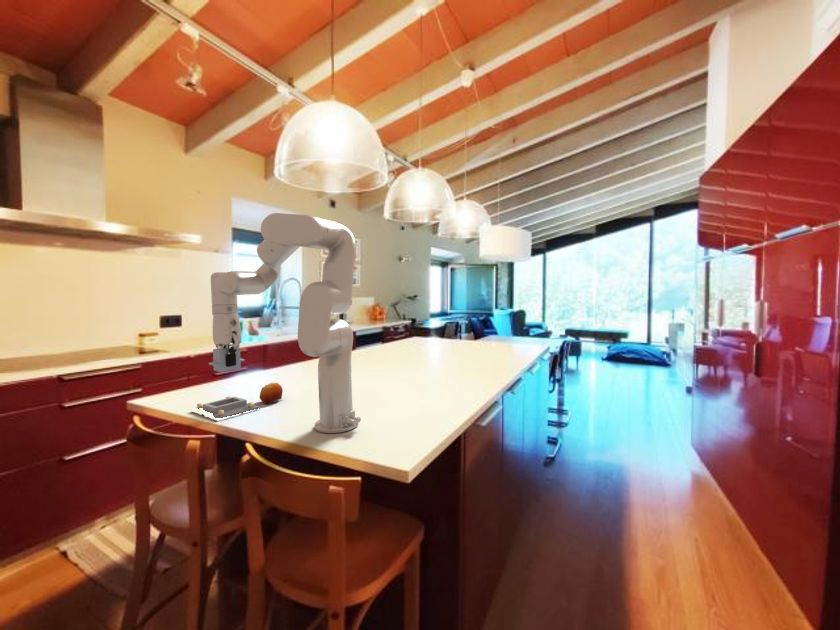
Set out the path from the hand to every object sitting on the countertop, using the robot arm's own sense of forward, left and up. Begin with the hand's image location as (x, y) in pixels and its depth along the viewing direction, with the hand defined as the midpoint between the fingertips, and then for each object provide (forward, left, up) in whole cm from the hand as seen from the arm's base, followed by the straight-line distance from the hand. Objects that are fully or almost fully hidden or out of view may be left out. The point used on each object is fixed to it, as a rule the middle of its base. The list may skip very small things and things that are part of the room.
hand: (227, 364), depth 130 cm
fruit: (-1, -15, -16) cm, 22 cm away
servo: (0, 0, -2) cm, 2 cm away
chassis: (+3, 0, -16) cm, 17 cm away
